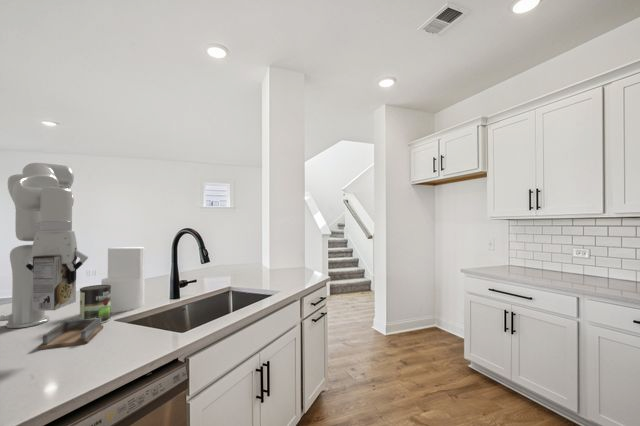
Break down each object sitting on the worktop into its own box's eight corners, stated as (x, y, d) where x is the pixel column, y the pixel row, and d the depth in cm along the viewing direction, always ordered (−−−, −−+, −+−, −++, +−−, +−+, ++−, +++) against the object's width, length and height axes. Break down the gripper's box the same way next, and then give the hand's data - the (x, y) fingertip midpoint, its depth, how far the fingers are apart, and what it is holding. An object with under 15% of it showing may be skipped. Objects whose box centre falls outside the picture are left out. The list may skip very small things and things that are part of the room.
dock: (38, 349, 96) (38, 336, 96) (61, 332, 111) (61, 321, 111) (87, 343, 100) (87, 331, 100) (103, 327, 115) (103, 317, 115)
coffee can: (117, 318, 127) (117, 284, 127) (94, 326, 117) (94, 290, 117) (96, 317, 129) (96, 284, 129) (72, 325, 119) (72, 289, 119)
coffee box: (55, 302, 97) (56, 252, 98) (76, 302, 98) (77, 252, 98) (30, 311, 88) (31, 256, 89) (54, 310, 89) (55, 255, 89)
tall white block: (121, 301, 154) (121, 246, 155) (152, 302, 152) (152, 246, 152) (91, 311, 137) (92, 250, 138) (125, 312, 134) (126, 250, 135)
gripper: (12, 227, 87) (11, 289, 87) (85, 227, 93) (84, 284, 93) (27, 227, 94) (26, 284, 94) (94, 226, 100) (93, 280, 100)
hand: (55, 284), depth 93 cm, fingers closed on coffee box, 7 cm apart
